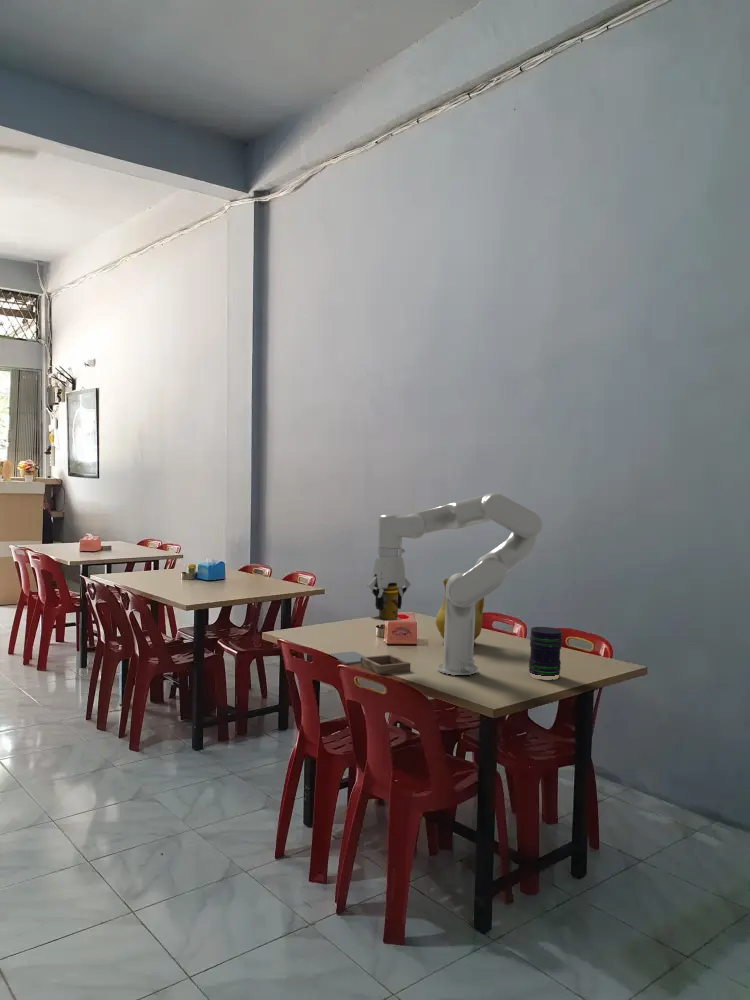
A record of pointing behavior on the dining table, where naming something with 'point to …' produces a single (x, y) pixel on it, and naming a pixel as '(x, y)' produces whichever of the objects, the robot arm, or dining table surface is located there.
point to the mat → (348, 657)
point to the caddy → (393, 667)
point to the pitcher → (478, 616)
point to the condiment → (389, 604)
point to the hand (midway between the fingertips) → (388, 608)
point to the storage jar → (545, 651)
